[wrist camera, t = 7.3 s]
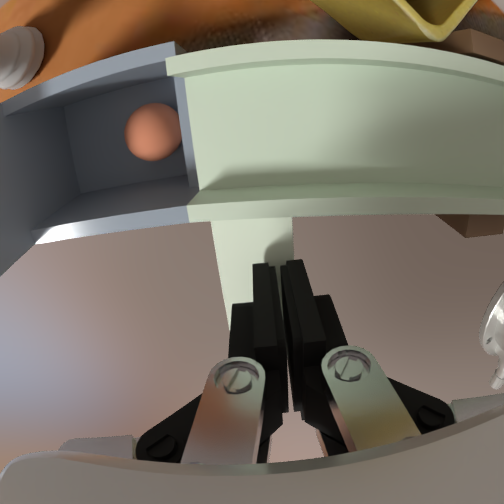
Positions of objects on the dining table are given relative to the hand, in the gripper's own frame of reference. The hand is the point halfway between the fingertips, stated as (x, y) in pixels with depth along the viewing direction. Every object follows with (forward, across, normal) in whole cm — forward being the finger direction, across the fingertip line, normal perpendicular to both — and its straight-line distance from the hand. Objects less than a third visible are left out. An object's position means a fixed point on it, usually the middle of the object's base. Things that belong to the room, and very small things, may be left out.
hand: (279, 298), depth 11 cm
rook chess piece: (+9, +15, -13) cm, 22 cm away
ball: (+7, +5, -6) cm, 10 cm away
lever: (0, -7, -2) cm, 8 cm away
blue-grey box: (+9, +7, -6) cm, 13 cm away
